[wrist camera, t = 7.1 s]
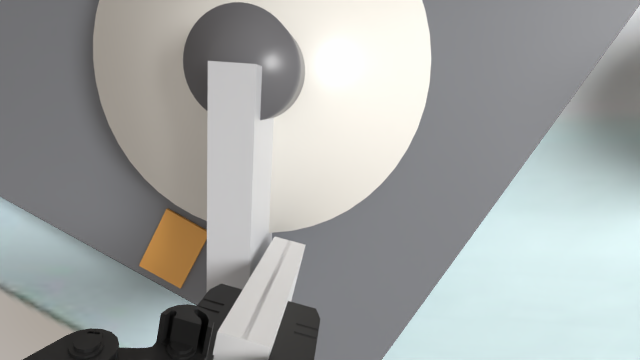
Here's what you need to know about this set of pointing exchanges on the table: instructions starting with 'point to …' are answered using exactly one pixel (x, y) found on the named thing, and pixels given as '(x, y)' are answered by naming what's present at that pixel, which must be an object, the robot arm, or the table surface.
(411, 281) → the dial base
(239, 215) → the dial
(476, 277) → the table surface
